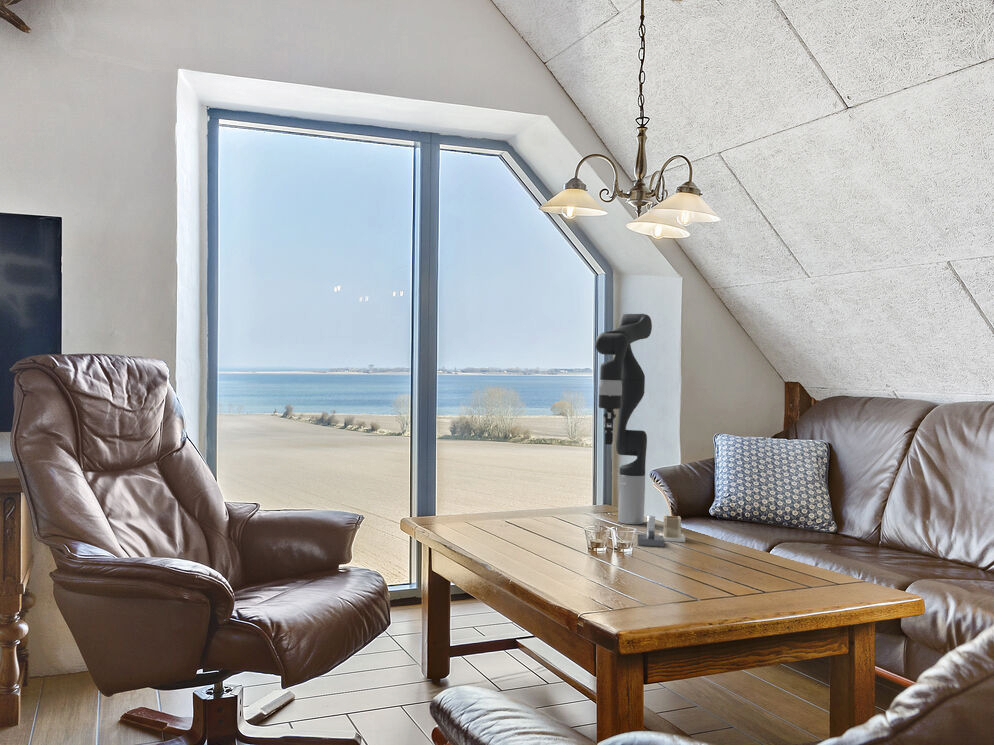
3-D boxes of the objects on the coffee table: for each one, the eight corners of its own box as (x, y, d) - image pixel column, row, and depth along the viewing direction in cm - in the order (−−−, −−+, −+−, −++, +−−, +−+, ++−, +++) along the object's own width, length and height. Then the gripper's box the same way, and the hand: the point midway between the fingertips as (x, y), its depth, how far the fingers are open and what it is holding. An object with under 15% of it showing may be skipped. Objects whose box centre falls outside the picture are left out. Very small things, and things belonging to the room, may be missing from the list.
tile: (658, 535, 272) (658, 532, 272) (683, 537, 270) (683, 534, 270) (659, 540, 264) (659, 537, 264) (685, 542, 262) (685, 538, 262)
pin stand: (637, 540, 263) (638, 513, 263) (662, 541, 262) (663, 515, 262) (637, 545, 255) (638, 517, 255) (663, 546, 254) (664, 519, 254)
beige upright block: (663, 533, 270) (663, 515, 270) (679, 534, 269) (680, 516, 269) (664, 536, 265) (664, 518, 265) (680, 537, 264) (681, 519, 264)
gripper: (599, 393, 278) (598, 441, 278) (598, 394, 264) (596, 444, 264) (622, 394, 277) (620, 442, 277) (621, 394, 263) (620, 445, 263)
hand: (608, 443), depth 270 cm, fingers open, 8 cm apart
